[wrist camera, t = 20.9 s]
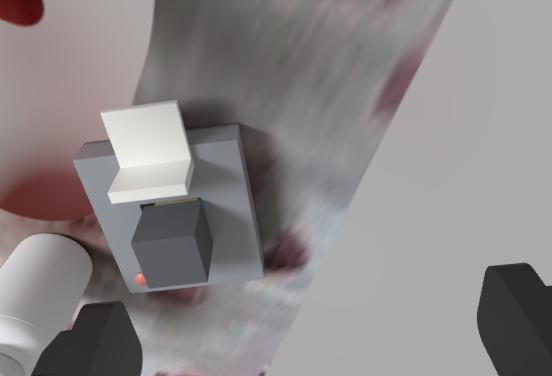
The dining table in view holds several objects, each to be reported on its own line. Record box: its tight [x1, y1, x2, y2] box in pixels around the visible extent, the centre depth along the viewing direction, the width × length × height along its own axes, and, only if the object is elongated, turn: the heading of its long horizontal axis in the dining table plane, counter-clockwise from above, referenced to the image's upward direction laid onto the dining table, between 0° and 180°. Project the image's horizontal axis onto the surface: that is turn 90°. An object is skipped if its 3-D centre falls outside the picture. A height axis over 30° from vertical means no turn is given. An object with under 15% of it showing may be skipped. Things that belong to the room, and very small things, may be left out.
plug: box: [131, 197, 213, 289], centre depth 41 cm, size 5×5×8 cm
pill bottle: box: [0, 233, 93, 376], centre depth 42 cm, size 8×8×15 cm
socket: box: [72, 123, 264, 294], centre depth 43 cm, size 14×16×4 cm
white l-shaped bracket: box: [100, 100, 195, 204], centre depth 35 cm, size 6×6×4 cm
